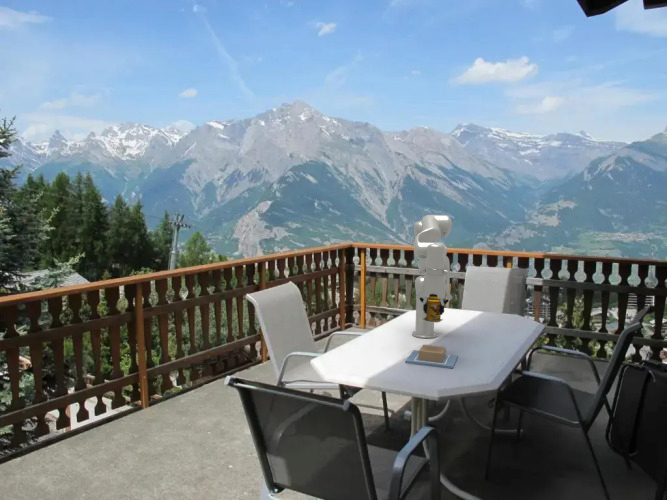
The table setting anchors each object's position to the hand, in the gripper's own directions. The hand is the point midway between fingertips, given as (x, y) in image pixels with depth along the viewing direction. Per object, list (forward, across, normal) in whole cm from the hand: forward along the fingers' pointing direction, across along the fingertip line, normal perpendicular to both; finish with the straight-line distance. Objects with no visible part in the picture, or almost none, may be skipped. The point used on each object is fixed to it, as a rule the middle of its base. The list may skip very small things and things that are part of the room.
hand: (433, 313), depth 220 cm
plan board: (+21, 0, 0) cm, 21 cm away
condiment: (+3, +1, 0) cm, 3 cm away
